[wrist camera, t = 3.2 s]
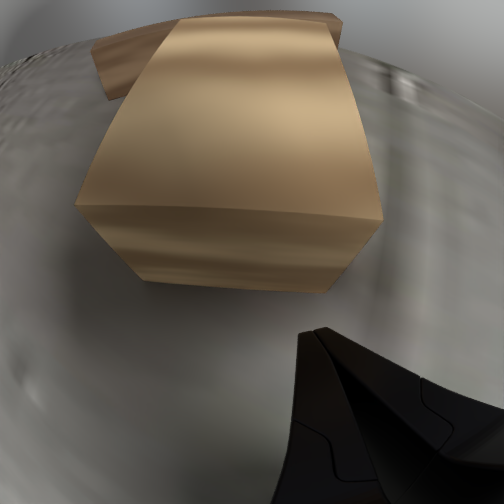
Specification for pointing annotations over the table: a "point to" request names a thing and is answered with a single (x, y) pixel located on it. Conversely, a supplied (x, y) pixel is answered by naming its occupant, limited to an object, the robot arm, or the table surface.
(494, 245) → the table surface
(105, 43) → the walnut board
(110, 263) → the table surface
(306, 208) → the oak block
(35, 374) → the table surface
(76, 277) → the table surface
